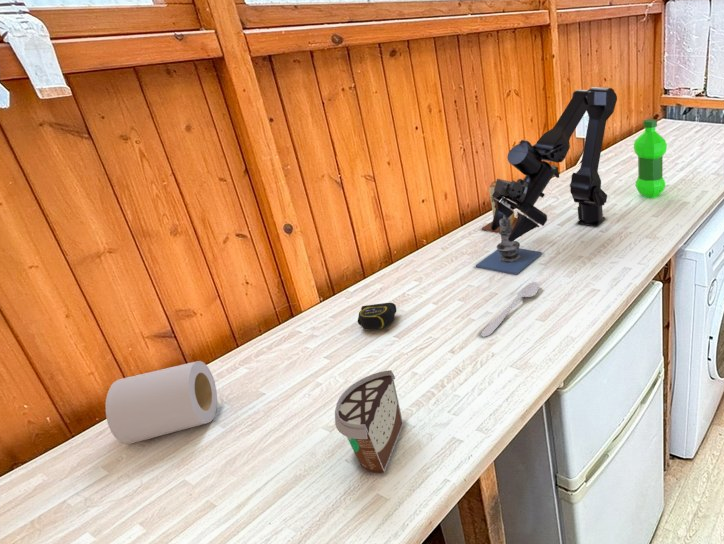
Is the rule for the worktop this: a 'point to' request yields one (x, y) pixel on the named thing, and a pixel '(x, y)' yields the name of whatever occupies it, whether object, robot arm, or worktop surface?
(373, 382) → the food container
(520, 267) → the blue mat
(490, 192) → the shoe polish box
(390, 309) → the tape measure
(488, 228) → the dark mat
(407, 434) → the worktop surface
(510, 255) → the grey chess piece
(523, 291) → the spoon
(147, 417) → the toilet paper
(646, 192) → the plastic bottle
